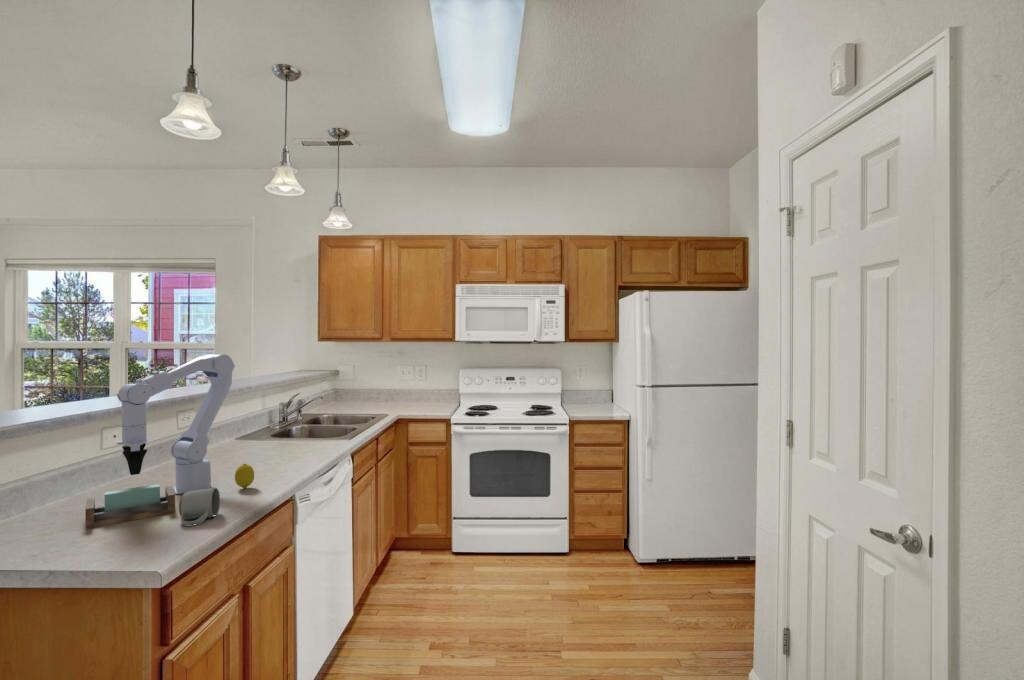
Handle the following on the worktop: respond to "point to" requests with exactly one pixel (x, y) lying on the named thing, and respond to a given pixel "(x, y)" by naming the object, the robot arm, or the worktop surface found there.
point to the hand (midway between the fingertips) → (134, 471)
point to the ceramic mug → (199, 505)
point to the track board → (129, 511)
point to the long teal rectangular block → (132, 497)
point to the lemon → (244, 476)
